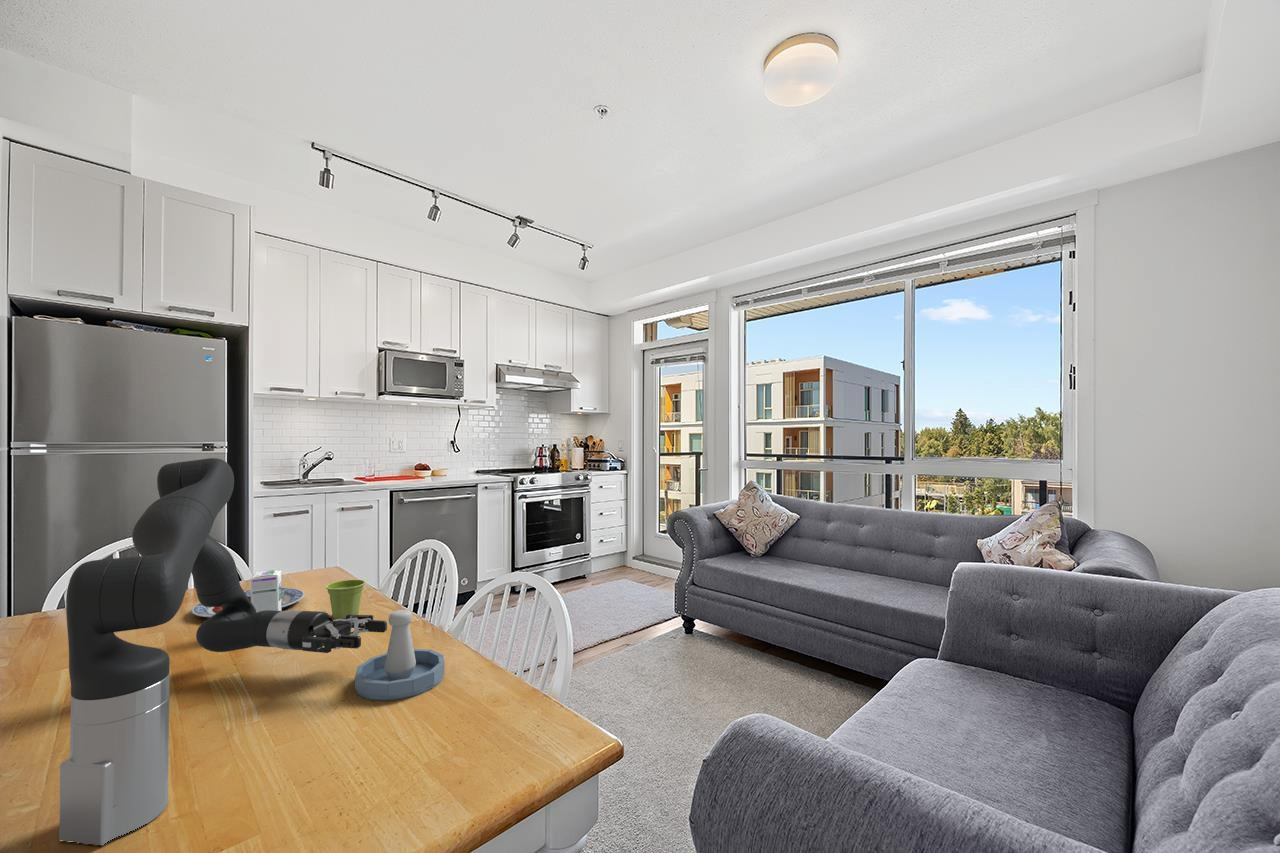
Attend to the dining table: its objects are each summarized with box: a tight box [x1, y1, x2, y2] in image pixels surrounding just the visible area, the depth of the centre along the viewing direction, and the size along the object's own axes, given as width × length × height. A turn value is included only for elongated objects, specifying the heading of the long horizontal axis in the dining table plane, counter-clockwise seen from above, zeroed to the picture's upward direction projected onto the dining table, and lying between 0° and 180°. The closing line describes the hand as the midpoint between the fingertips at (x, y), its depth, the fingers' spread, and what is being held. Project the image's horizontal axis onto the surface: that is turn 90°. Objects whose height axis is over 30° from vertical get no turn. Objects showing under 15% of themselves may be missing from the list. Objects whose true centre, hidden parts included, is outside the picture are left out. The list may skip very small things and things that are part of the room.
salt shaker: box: [384, 609, 416, 681], centre depth 109 cm, size 6×6×13 cm
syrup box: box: [250, 569, 283, 612], centre depth 136 cm, size 6×6×14 cm
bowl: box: [354, 648, 445, 702], centre depth 109 cm, size 16×16×3 cm
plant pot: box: [325, 579, 366, 620], centre depth 148 cm, size 9×9×9 cm
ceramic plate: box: [191, 587, 305, 618], centre depth 154 cm, size 26×26×3 cm
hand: (373, 634), depth 110 cm, fingers open, 8 cm apart
